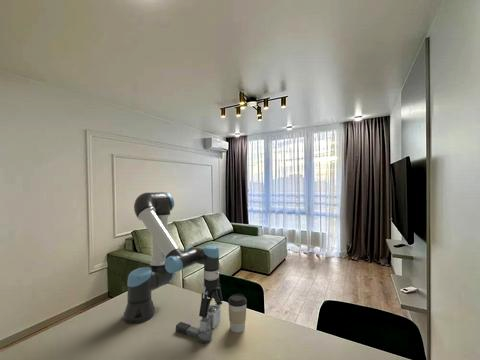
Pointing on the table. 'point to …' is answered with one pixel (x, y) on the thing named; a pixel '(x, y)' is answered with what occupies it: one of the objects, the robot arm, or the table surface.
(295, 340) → the table surface
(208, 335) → the grey l-shaped piece
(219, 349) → the table surface
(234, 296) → the coffee cup
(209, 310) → the socket
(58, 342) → the table surface
